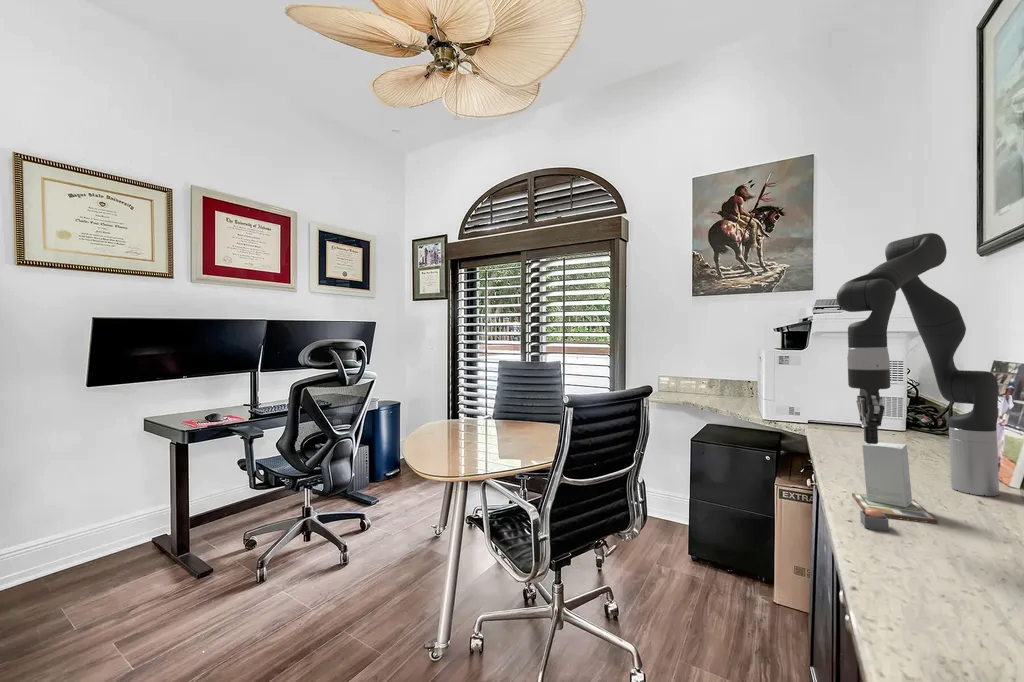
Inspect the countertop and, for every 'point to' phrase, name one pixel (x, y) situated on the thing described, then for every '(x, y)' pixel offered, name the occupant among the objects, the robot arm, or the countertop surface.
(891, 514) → the picture board
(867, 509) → the button
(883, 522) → the button housing
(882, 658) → the countertop surface
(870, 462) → the skincare box
